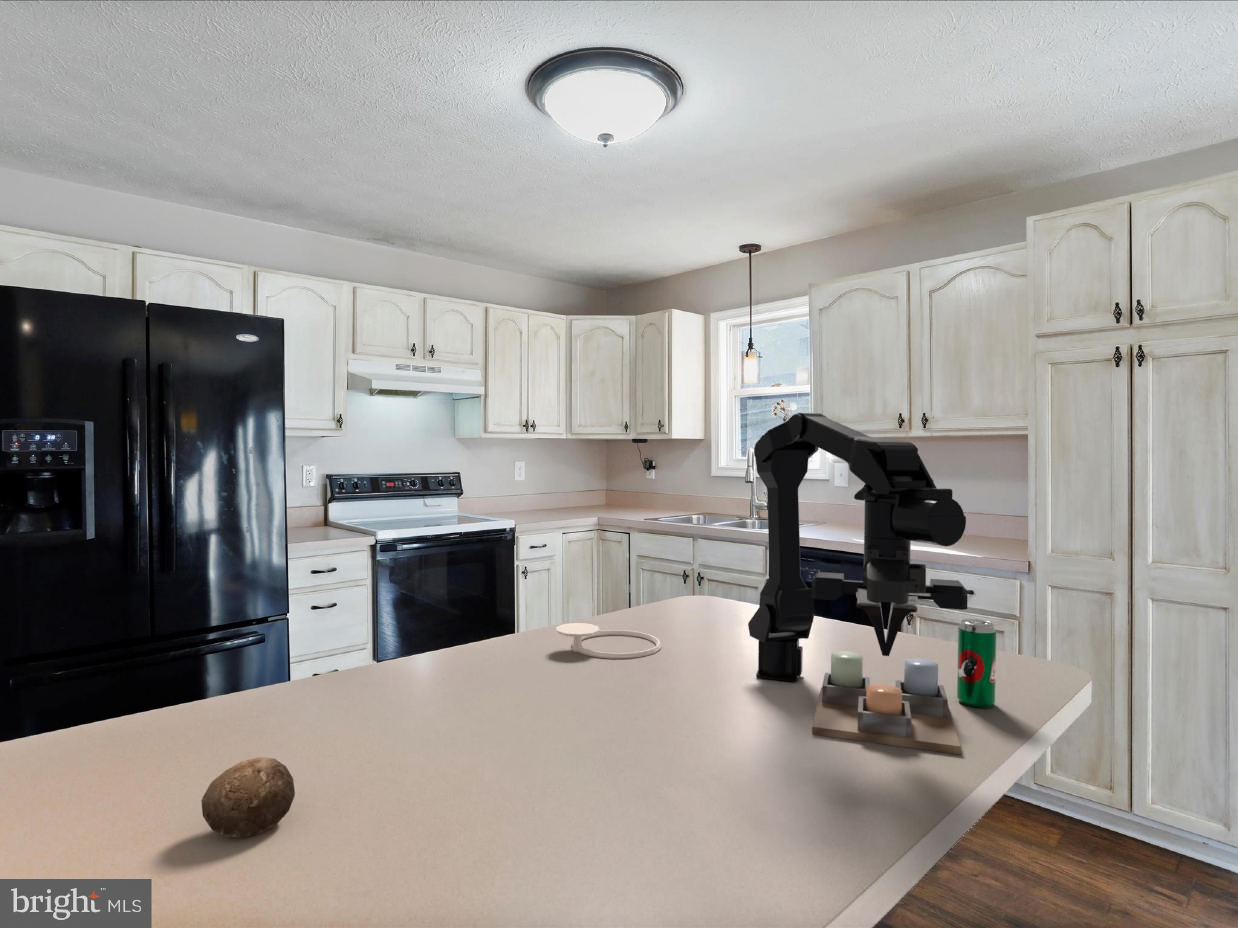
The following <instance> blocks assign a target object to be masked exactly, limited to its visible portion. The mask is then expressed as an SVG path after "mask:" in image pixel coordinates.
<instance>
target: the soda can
mask: <svg viewBox="0 0 1238 928" xmlns="http://www.w3.org/2000/svg"><path fill="white" fill-rule="evenodd" d="M994 626H995V624H994V623H993V622H991V621H988V620H983V619H977V618H976V619H975V618H964V619H961V621H960V624H959V626H958V627H957V667H956V669H957V671H956V675H957V676H956V698H957V699H958V700H959V702H960V703H961V704H963V705H965V706H968V707H970V708H971V707H972V708H978V709H988V708H991V707H992V706H994V705H995V704H996V681H997V680H996V679H997V677H996V674H997V630H996V629H995V627H994Z"/></svg>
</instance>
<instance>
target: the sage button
mask: <svg viewBox="0 0 1238 928" xmlns="http://www.w3.org/2000/svg"><path fill="white" fill-rule="evenodd" d="M863 660H864V658H863V655H861V654H859V653H856V652H851V651H843V650H842V651H841V650H840V651H834V652H833V651H832V653H831V654H830V673H831V683H832V684H834V685H836V686H841V687H850V688H857V687H861V686H862V677H864V676H863V672H864V671H863V670H864V669H863V667H864V666H863V664H864V663H863Z"/></svg>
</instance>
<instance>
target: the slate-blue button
mask: <svg viewBox="0 0 1238 928" xmlns="http://www.w3.org/2000/svg"><path fill="white" fill-rule="evenodd" d="M903 664H904V665H903V667H904V668H903V669H904V670H903V671H904V672H903V681H904V690H905V691H906V692H907V693H910V694H913V695H920V696H935V695H937V694H938V685H939V664H938V662H936V661H933V660H929V659H924V658H918V657H917V658H907V659H905V660H904V663H903Z"/></svg>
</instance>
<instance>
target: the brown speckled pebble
mask: <svg viewBox="0 0 1238 928" xmlns="http://www.w3.org/2000/svg"><path fill="white" fill-rule="evenodd" d="M294 783H295V781H294V777H293V776H292V774H291V772H290V771H289V769H288V768H287V766H286V765H284V764H283V763H282V762H280V761H279V760H277V759H276V758H274V757H273V758H272V757H265V756H264V757H262V756H258V757H254V758H250V759H246V760H242V761H240V762H238V763H236V764H235V765H233V766H231V767H229V768H228V769H226V770H224V771H223V772H222V773H221V774H220V775H219V776H217V777H216V778H215V779H213V780H212V781H211V782H210V784H209V785H208V787H207V789H206V791H205V792H204V795H203V796H202V799H201V800H200V801H201V810H202V811H201V813H202V817H203V818H204V820H205V822H206V823H207V824H208V826H209V828H210V829H211V830H212V831H214V832H216V833H217V834H220V835H221V836H224V837H227V838H242V839H243V838H247V837H250V836H255V835H258V834H261V833H264V832H265V831H267V830H269V829H272V828H273V827H275V826H276V825H277V824H279V823H280V821H281V820H282V819H283V818H284V817H285V816H286V815H287V814H288V813H289V811H290V809H291V806H292V805H293V804H292V803H293V801H294V799H295V797H296V795H295V794H296V791H295V784H294Z"/></svg>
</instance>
